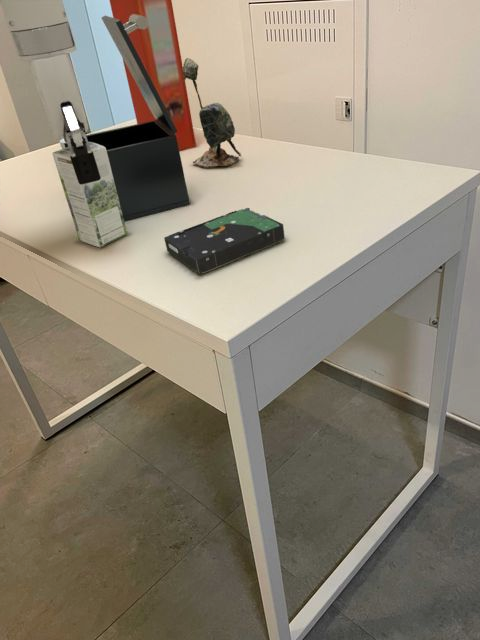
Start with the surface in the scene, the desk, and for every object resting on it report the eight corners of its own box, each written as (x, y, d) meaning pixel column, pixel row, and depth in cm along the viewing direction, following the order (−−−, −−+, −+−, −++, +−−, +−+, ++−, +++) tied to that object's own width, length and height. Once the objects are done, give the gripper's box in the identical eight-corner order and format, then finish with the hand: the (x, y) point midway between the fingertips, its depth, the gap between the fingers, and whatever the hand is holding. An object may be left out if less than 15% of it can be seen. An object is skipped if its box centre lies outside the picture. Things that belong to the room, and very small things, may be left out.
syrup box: (107, 227, 92) (81, 139, 84) (129, 234, 89) (105, 144, 80) (79, 241, 89) (49, 151, 80) (101, 249, 86) (73, 156, 77)
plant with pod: (221, 174, 108) (203, 62, 96) (188, 164, 115) (168, 59, 103) (252, 162, 112) (238, 52, 100) (218, 153, 119) (202, 50, 107)
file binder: (171, 132, 138) (140, -20, 119) (197, 146, 126) (167, -21, 107) (140, 139, 136) (104, -15, 117) (164, 154, 123) (128, -15, 104)
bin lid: (115, 22, 79) (145, 5, 79) (101, 17, 89) (127, 2, 89) (173, 134, 90) (199, 118, 90) (154, 118, 100) (178, 104, 100)
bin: (97, 228, 93) (75, 158, 86) (86, 203, 103) (66, 139, 96) (190, 204, 97) (176, 135, 90) (170, 182, 107) (157, 119, 100)
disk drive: (200, 278, 75) (286, 240, 81) (196, 259, 73) (284, 222, 79) (166, 254, 82) (247, 221, 88) (162, 237, 80) (245, 204, 86)
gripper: (13, 42, 78) (56, 165, 89) (17, 54, 65) (67, 197, 75) (66, 33, 80) (102, 154, 90) (80, 42, 67) (121, 184, 77)
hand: (86, 173), depth 83 cm, fingers closed on syrup box, 7 cm apart
